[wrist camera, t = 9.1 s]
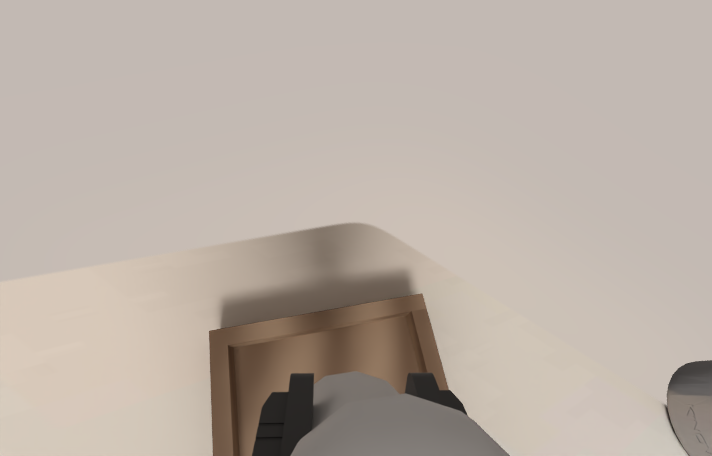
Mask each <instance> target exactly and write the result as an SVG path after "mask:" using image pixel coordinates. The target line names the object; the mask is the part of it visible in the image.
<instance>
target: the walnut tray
mask: <svg viewBox="0 0 712 456" xmlns="http://www.w3.org/2000/svg"><path fill="white" fill-rule="evenodd" d="M209 342H210V373H211V405H212V437H213V456H252V453H253V448H254V443H255V440H256V433H257V429H258V425H259V419H260V414H261V409H262V406H263V404H264V403H265V402H266V400H267V399H268V397H269V396H270V394H271V393H272V392H288V390H289V382H290V375H291V373H314V384H315V383H317V382H318V381H319V380H321V379H322V378H323V377H325V376H328V375H335V374H341V373H348V372H355V371H357V372H361V373H364V374H367V375H370V376H373V377H376V378H379V379H382V380H386V381H387V382H388V383H389V384H390V385H391V386H392V387H393V388H394V389H395V390H396V391H397V392H398V393H399V394H405V389H406V382H407V376H408V373H433V375H434V377H435V379H436V382H437V385H438V387H439V390H449V389H448V385H447V382H446V378H445V374H444V371H443V367H442V363H441V360H440V356H439V353H438V349H437V345H436V342H435V338H434V334H433V331H432V327H431V323H430V320H429V316H428V312H427V309H426V305H425V302H424V298H423V294H416V295H410V296H405V297H399V298H393V299H388V300H382V301H376V302H371V303H365V304H359V305H354V306H348V307H342V308H337V309H331V310H325V311H319V312H314V313H308V314H302V315H297V316H291V317H285V318H280V319H274V320H268V321H263V322H257V323H251V324H246V325H240V326H234V327H229V328H223V329H217V330H211V331H209Z"/></svg>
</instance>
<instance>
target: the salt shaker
mask: <svg viewBox="0 0 712 456" xmlns="http://www.w3.org/2000/svg"><path fill="white" fill-rule="evenodd" d="M291 456H510V455H509V454H508V453H507V452H505V451H504V450H503V449H502V448H501V447H500V446H499V445H498V444H497V443H496V442H495V441H494V440H493V439H492V438H491V437H490V436H489V435H488V434H487V433H486V432H485V431H484V430H483V429H482V428H481V427H480V426H479V425H478V424H477V423H476V422H475V421H473V420H472V419H471V418H469V417H468V416H467V415H465V414H464V413H463V412H461V411H459V410H456V409H453V408H450V407H447V406H443V405H440V404H437V403H434V402H431V401H428V400H425V399H422V398H419V397H415V396H412V395H409V394H406V393H405V394H399V393H398V392H397V391H396V390H395V389H394V388H393V387H392V386H391V385H390V384H389V383H388V382H387V381H386V380H382V379H379V378H376V377H373V376H370V375H367V374H364V373H361V372H357V371H355V372H348V373H341V374H335V375H328V376H325V377H323V378H322V379H321V380H319V381H318V382H317V383H315V384H314V398H313V417H312V431H310V432H309V433H308V434H307V435H305V436H304V437H303V438H301V439H300V441H299V442H298V443H297V445H296V447H295V449H294V450H293V452H292V454H291Z"/></svg>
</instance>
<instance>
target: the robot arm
mask: <svg viewBox="0 0 712 456" xmlns="http://www.w3.org/2000/svg"><path fill="white" fill-rule="evenodd" d="M405 393H406V394H409V395H412V396H415V397H419V398H422V399H425V400H428V401H431V402H434V403H437V404H440V405H443V406H447V407H450V408H453V409H456V410H459V411H461V412H463V413H464V414H465V415H467V413H466V411H465V409H464V406H463V404H462V403H461V402H460V401H459V399H458V398H457V397H456V396H455V395H454V394H453V393H452V392H451V391H450V390H439V387H438V385H437V382H436V379H435V377H434V375H433V373H408V376H407V382H406V389H405ZM313 398H314V373H291V375H290V382H289V390H288V392H272V393H271V394H270V396H269V397H268V399H267V400H266V402H265V403H264V404H263V406H262V409H261V414H260V419H259V425H258V429H257V433H256V440H255V443H254V448H253V453H252V456H291V454H292V452H293V450H294V449H295V447H296V445H297V443H298V442H299V441H300V439H301V438H303V437H304V436H305V435H307V434H308V433H309V432H310V431H312V417H313ZM667 407H668V412H669V416H670V420H671V423H672V425H673V428H674V430H675V433H676V435H677V437H678V439H679V440H680V442H681V444H682V446H683V447H684V449H685V450H686V451H687V453H688V454H689V455H690V456H712V361H698V362H691V363H687V364H685V365H684V366H682V367H680V368H678V370H677V371H676V372H675V373H674V374H673V376H672V378H671V380H670V383H669V386H668V392H667ZM467 416H468V415H467Z"/></svg>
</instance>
